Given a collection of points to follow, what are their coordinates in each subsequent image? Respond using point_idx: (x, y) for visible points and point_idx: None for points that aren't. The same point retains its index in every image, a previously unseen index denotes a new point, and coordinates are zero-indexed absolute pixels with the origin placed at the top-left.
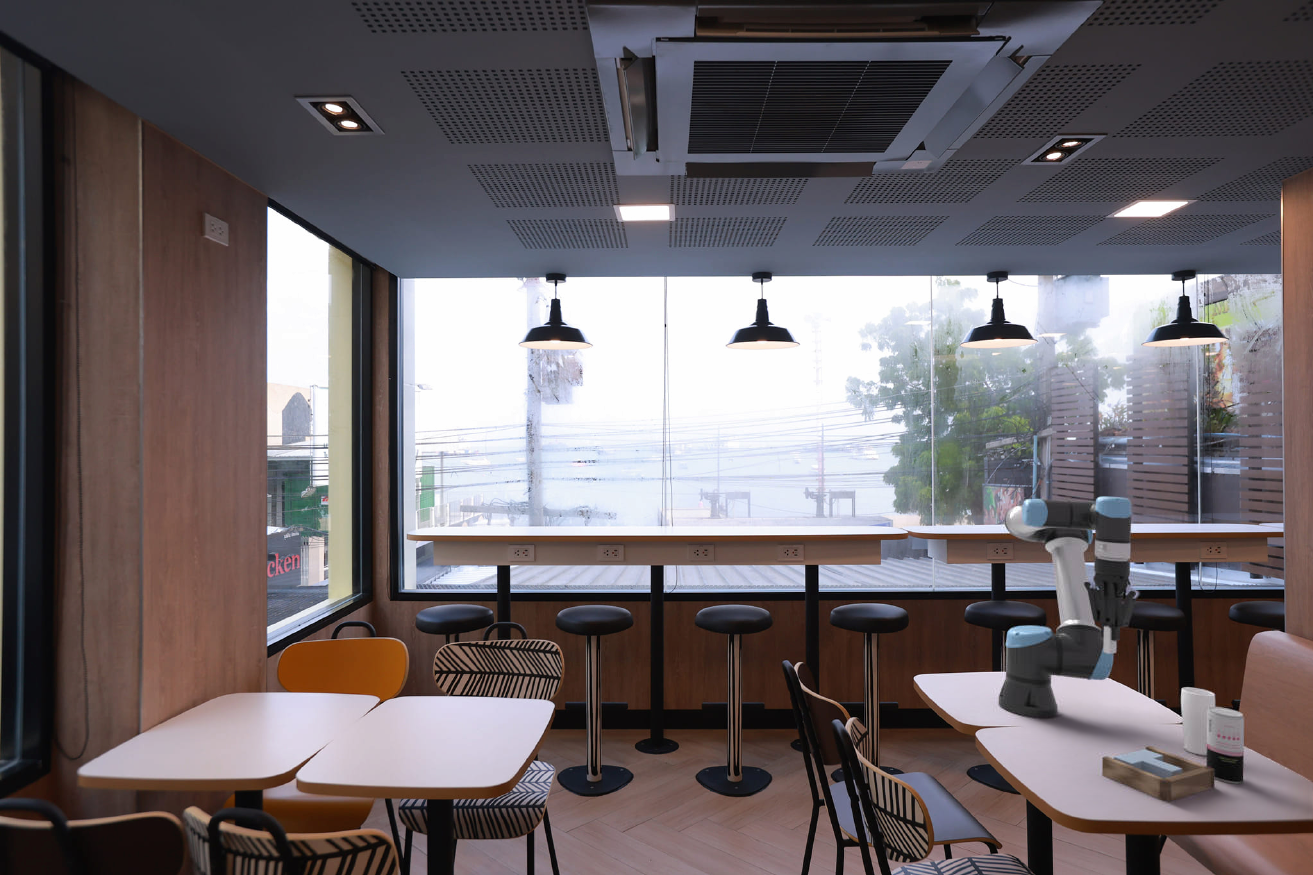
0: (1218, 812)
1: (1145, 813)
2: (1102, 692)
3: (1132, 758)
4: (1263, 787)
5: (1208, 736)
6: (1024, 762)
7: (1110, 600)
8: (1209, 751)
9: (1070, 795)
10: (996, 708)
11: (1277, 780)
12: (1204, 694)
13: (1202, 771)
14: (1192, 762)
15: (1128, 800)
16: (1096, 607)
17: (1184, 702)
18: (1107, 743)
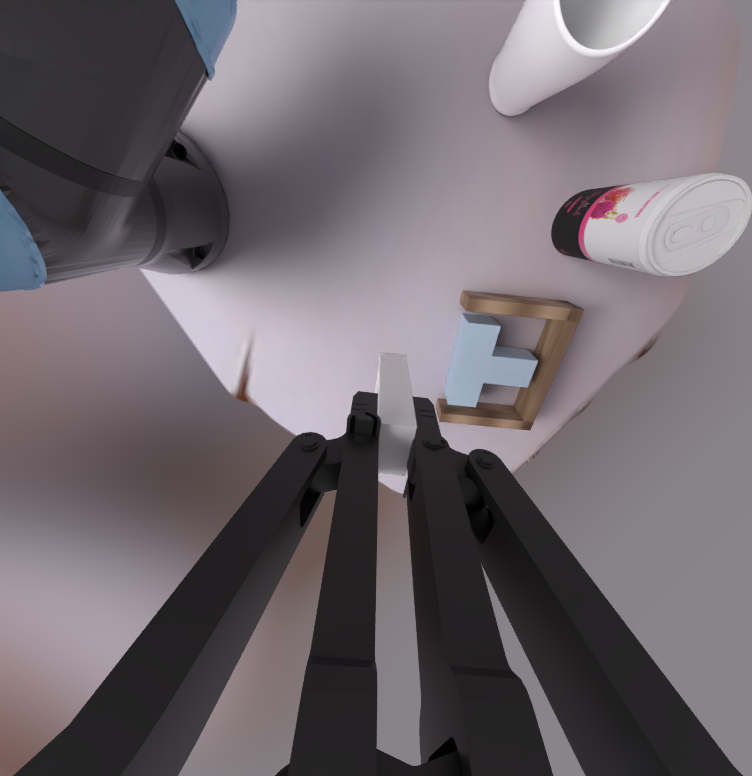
0: (576, 389)
1: (507, 460)
2: None
3: (469, 386)
4: None
5: (598, 254)
6: None
7: (372, 632)
8: (581, 254)
9: None
10: (156, 277)
11: (683, 106)
12: None
13: (566, 342)
14: (547, 311)
15: (485, 446)
16: (286, 555)
17: (546, 70)
18: (375, 259)
